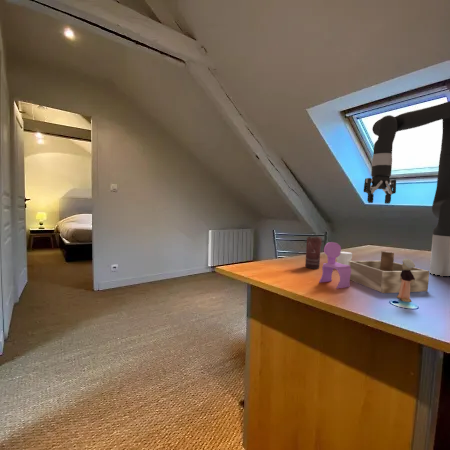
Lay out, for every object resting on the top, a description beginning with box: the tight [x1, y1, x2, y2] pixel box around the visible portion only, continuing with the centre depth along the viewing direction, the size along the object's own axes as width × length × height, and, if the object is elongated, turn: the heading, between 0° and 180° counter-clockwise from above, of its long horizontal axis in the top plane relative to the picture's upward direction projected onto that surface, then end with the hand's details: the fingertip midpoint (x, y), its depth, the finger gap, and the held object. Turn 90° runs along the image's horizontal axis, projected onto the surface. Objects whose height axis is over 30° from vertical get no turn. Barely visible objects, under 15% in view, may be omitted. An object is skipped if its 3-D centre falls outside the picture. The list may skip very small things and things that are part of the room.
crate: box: [349, 260, 430, 294], centre depth 104 cm, size 18×18×7 cm
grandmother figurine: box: [396, 258, 416, 303], centre depth 86 cm, size 8×4×13 cm, turn 5°
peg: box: [380, 250, 395, 271], centre depth 103 cm, size 4×4×12 cm
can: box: [304, 236, 323, 270], centre depth 129 cm, size 6×6×14 cm
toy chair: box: [318, 241, 351, 289], centre depth 101 cm, size 8×9×15 cm
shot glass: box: [336, 250, 353, 265], centre depth 133 cm, size 7×7×7 cm
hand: (378, 203), depth 123 cm, fingers open, 8 cm apart
